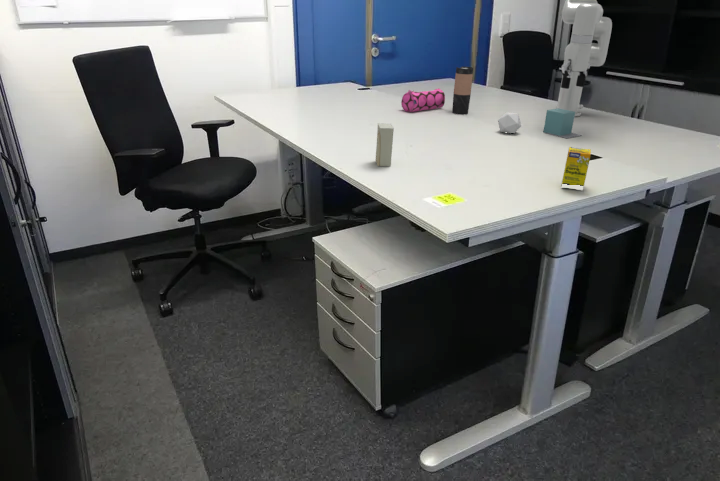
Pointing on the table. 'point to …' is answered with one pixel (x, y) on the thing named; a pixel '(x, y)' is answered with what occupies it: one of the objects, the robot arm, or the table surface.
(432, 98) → the pencil case
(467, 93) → the travel mug
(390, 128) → the skincare box
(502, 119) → the die
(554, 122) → the teal toy cube
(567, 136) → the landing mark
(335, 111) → the table surface
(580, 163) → the supplement box
